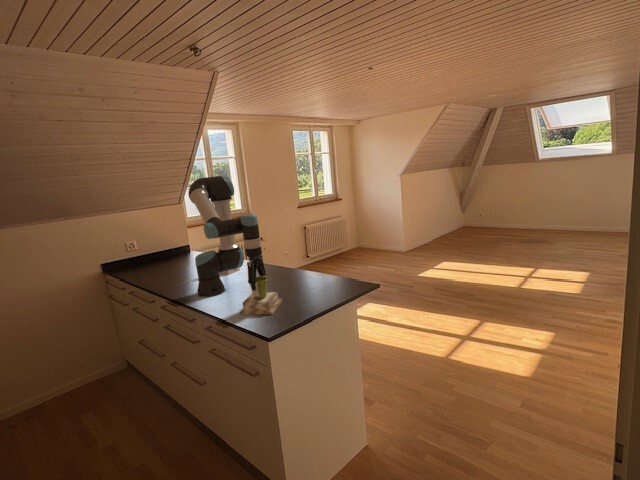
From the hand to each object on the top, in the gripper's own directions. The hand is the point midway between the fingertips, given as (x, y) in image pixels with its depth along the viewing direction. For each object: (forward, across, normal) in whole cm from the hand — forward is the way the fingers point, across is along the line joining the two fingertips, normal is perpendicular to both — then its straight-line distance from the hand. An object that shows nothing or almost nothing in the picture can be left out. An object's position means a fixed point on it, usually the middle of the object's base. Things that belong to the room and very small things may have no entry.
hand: (259, 292), depth 175 cm
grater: (+8, +65, +48) cm, 81 cm away
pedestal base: (+8, 0, 0) cm, 8 cm away
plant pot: (+2, 0, 0) cm, 2 cm away
